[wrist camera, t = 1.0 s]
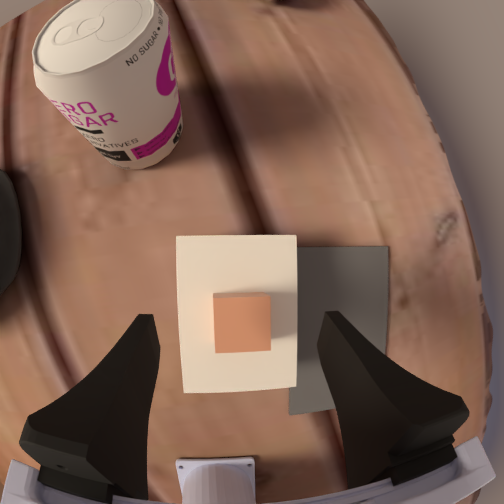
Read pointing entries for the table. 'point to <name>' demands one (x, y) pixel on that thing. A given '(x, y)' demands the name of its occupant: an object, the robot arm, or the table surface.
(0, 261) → the casserole
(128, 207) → the table surface
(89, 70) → the supplement can
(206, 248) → the lid
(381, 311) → the mat
